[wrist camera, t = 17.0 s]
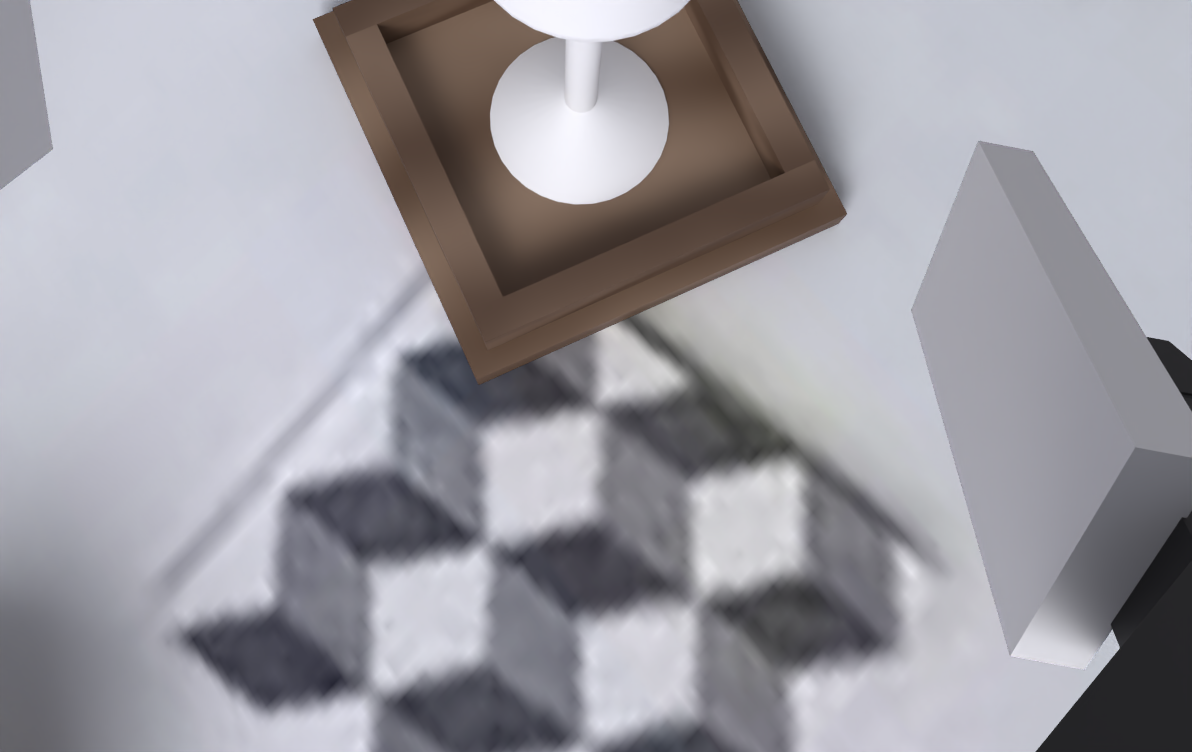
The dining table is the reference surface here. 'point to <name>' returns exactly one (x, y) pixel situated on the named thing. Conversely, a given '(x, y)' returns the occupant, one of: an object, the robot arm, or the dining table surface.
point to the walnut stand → (561, 230)
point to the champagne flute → (581, 100)
